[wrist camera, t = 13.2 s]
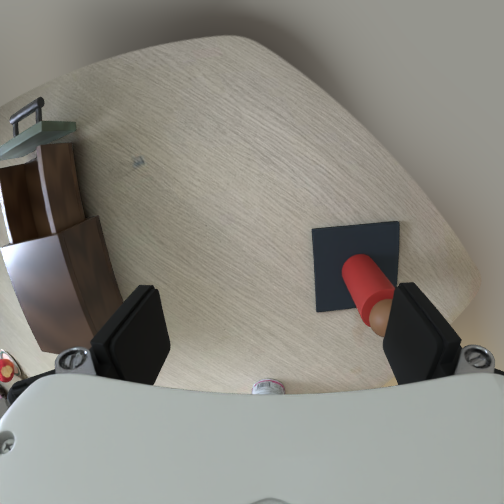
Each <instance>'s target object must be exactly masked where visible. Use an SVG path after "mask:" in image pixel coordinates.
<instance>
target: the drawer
mask: <svg viewBox="0 0 504 504" xmlns="http://www.w3.org/2000/svg"><path fill="white" fill-rule="evenodd" d="M43 106H44V99H43V98H42V97H39V98H37V99H36V100H34V101H32V102H31V103H29V104H28V105H26V106H25V107H23V108H22V109H20V110H19V111H18V112H16V113H15V114H13V115H12V116H11V117H10V123H11V124H12V125H13V136H14V138H13V139H11V140H9V141H8V142H7V143H5V144H4V145H2V146H1V147H0V161H1V160H7V159H13V158H19V157H23V156H25V155H27V154H29V153H31V152H33V151H35V150H36V151H37V158H35V159H33V160H31V161H29V162H27V163H25V164H20V165H15V166H10V167H5V168H0V201H1V206H2V211H3V216H4V220H5V225H6V229H7V233H8V237H9V240H10V244H14V243H18V242H22V241H26V240H30V239H34V238H39V237H43V236H47V235H52V234H56V233H59V232H61V231H63V230H65V229H67V228H70V227H72V226H74V225H76V224H78V223H80V222H83V221H85V215H84V211H83V206H82V201H81V196H80V191H79V186H78V180H77V175H76V168H75V162H74V155H73V147H72V143H58V144H48V143H50V142H53V141H55V140H57V139H59V138H61V137H63V136H65V135H68V134H70V133H72V132H75V131H76V122H66V121H42V110H41V108H42V107H43ZM35 111H36V124H35V125H33V126H32V127H30V128H28V129H27V130H25V131H23V132H22V133H20V134H19V131H18V122H19V121H21V120H22V119H24V118H25V117H27V116H29V115H30V114H32V113H33V112H35Z"/></svg>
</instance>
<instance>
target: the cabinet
mask: <svg viewBox="0 0 504 504" xmlns="http://www.w3.org/2000/svg"><path fill="white" fill-rule="evenodd" d="M1 252H2V255H3V258H4V262H5V265H6V268H7V271H8V274H9V277H10V280H11V283H12V285H13V288H14V291H15V293H16V296H17V298H18V301H19V303H20V306H21V308H22V311H23V313H24V315H25V317H26V320H27V322H28V324H29V326H30V328H31V330H32V333H33V335H34V337H35V339H36V341H37V343H38V345H39V347H40V349H41V350H42V351H43V352H49V353H54V354H60V353H61V352H63V351H64V350H66V349H68V348H71V347H76V346H79V347H85V348H87V349H88V350H89V349H90V348H91V347H92V346H91V344H90V341H91V340H92V338H93V337H94V336H95V335H96V334H97V333H98V331H99V330H100V329H101V328H102V327H103V325H104V324H105V323H106V322H107V321H108V320H109V318H110V317H111V316H112V315H113V314H114V313H115V312H116V310H117V309H118V308H119V307H120V306H121V305H122V304H123V301H122V298H121V295H120V292H119V289H118V285H117V282H116V279H115V276H114V273H113V269H112V266H111V262H110V259H109V255H108V252H107V248H106V244H105V240H104V237H103V233H102V228H101V224H100V220H99V216H93V217H89V218H85V221H83V222H80V223H78V224H76V225H74V226H72V227H70V228H67V229H65V230H63V231H61V232H59V233H56V234H52V235H47V236H43V237H39V238H34V239H30V240H26V241H22V242H18V243H14V244H10V243H9V244H7V245H5V246H3V247H1Z"/></svg>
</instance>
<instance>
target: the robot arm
mask: <svg viewBox="0 0 504 504" xmlns="http://www.w3.org/2000/svg"><path fill="white" fill-rule="evenodd" d="M460 343H461V338H460V337H459V336H458V335H457V333H456V332H455V331H454V329H453V328H452V327H451V326H450V324H449V323H448V322H447V321H446V319H445V318H444V317H443V316H442V315H441V313H440V312H439V311H438V310H437V309H436V307H435V306H434V305H433V304H432V303H431V301H430V300H429V299H428V298H427V297H426V296H425V294H424V293H423V292H422V291H421V290H420V289H419V288H418V287H417V285H416V284H415V283H414V282H410V283H400V284H399V286H398V287H395V290H394V294H393V300H392V305H391V309H390V314H389V319H388V323H387V327H386V332H385V336H384V340H383V350H384V352H385V355H386V357H387V359H388V361H389V364H390V366H391V368H392V371H393V373H394V375H395V378H396V380H397V382H398V385H396V386H389V387H382V388H374V389H366V390H356V391H346V392H333V393H317V394H285V395H265V394H233V393H217V392H205V391H194V390H184V389H176V388H168V387H160V386H153V385H154V383H155V381H156V379H157V376H158V374H159V372H160V370H161V368H162V366H163V364H164V362H165V360H166V358H167V356H168V354H169V351H170V346H171V345H170V339H169V335H168V331H167V327H166V322H165V318H164V313H163V309H162V304H161V299H160V294H159V291H158V289H155V288H154V286H153V285H139V286H138V287H137V288H136V289H135V290H134V291H133V292H132V294H131V295H130V296H129V297H128V298H127V299H126V300H125V301H124V303H123V304H122V305H121V306H120V307H119V308H118V309H117V310H116V312H115V313H114V314H113V315H112V316H111V317H110V318H109V320H108V321H107V322H106V323H105V324H104V325H103V327H102V328H101V329H100V330H99V331H98V333H97V334H96V335H95V336H94V337H93V338H92V340H91V341H90V344H91V346H92V347H91V348H90V349H89V350H88V349H87V348H85V347H79V346H76V347H71V348H68V349H66V350H64V351H63V352H61V353H60V354H59V355H58V356H57V358H56V360H55V369H54V370H51V371H48V372H45V373H42V374H39V375H36V376H33V377H30V378H27V379H24V380H21V381H18V382H16V383H14V384H13V386H12V387H11V388H10V390H9V392H8V396H7V398H8V399H7V400H5V398H4V397H3V398H1V399H0V504H504V372H503V371H501V370H498V369H495V368H494V367H495V359H494V357H493V355H492V353H491V352H490V351H489V350H487V349H486V348H484V347H482V346H478V345H468V346H465V347H464V348H462V347H461V346H460Z"/></svg>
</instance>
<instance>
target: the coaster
mask: <svg viewBox="0 0 504 504" xmlns="http://www.w3.org/2000/svg"><path fill="white" fill-rule="evenodd" d="M399 230H400V223H399V222H398V221H393V222H381V223H370V224H359V225H348V226H337V227H326V228H316V229H312V240H313V255H314V272H315V293H316V312H326V311H334V310H343V309H350V308H357V307H356V305H355V303H354V301H353V299H352V296H351V294H350V292H349V290H348V288H347V286H346V284H345V282H344V280H343V277H342V268H343V265H344V263H345V262H346V261H347V260H348V259H349V258H350V257H352V256H354V255H357V254H364V255H367V256H369V257H370V258H371V259H372V260H373V261H374V262H375V263H376V265H377V266H378V267H379V268H380V270H381V271H382V272H383V273H384V275H385V276H386V277H387V278H388V280H389V281H390V282H391V283H392V285H393V286H394V287H397V275H398V259H399Z"/></svg>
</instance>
